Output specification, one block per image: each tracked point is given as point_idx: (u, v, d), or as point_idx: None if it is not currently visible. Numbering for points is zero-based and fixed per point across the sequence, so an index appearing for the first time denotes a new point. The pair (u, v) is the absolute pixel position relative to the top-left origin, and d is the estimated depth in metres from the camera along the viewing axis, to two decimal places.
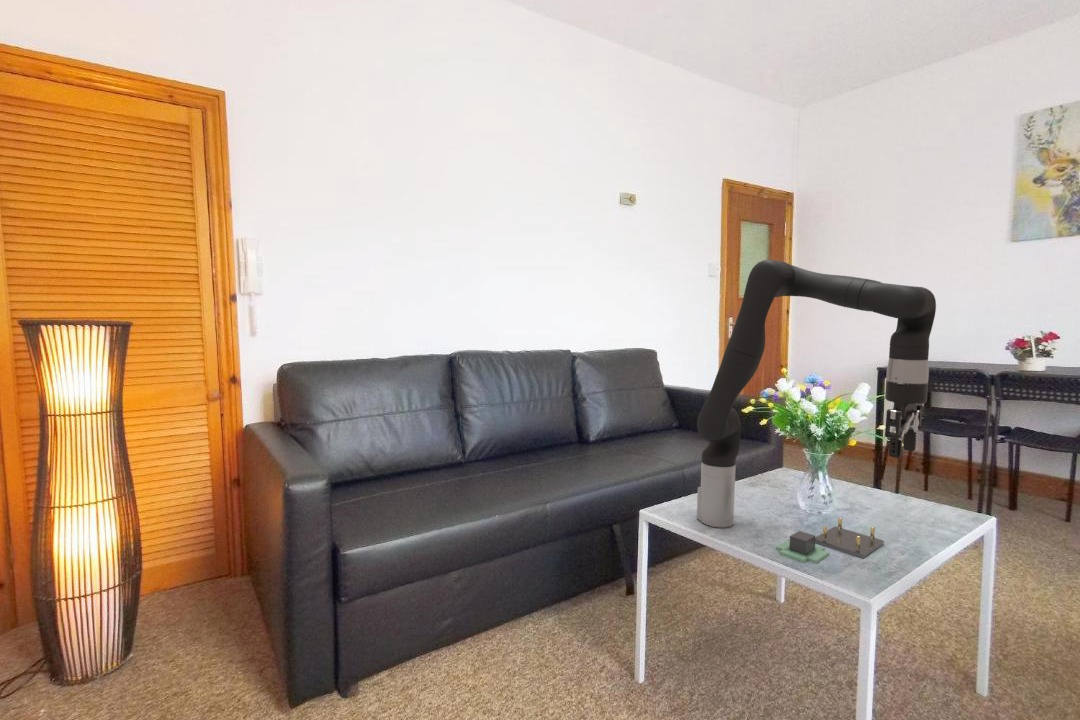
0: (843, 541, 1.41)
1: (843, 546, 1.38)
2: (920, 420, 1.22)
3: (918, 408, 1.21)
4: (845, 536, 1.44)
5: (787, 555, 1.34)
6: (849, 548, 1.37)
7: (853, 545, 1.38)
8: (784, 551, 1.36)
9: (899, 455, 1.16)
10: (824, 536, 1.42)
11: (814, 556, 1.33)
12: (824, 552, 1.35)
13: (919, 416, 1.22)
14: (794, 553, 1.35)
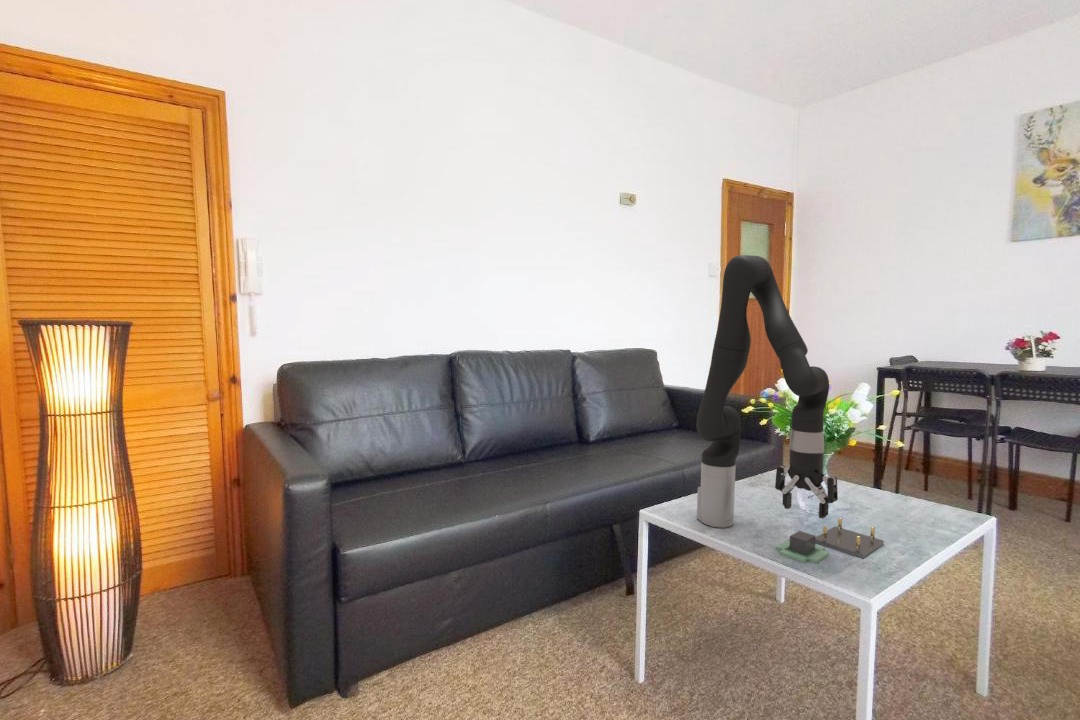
0: (843, 541, 1.41)
1: (843, 546, 1.38)
2: None
3: None
4: (845, 536, 1.44)
5: (787, 555, 1.34)
6: (849, 548, 1.37)
7: (853, 545, 1.38)
8: (784, 551, 1.36)
9: None
10: (824, 536, 1.42)
11: (814, 556, 1.33)
12: (824, 552, 1.35)
13: None
14: (794, 553, 1.35)
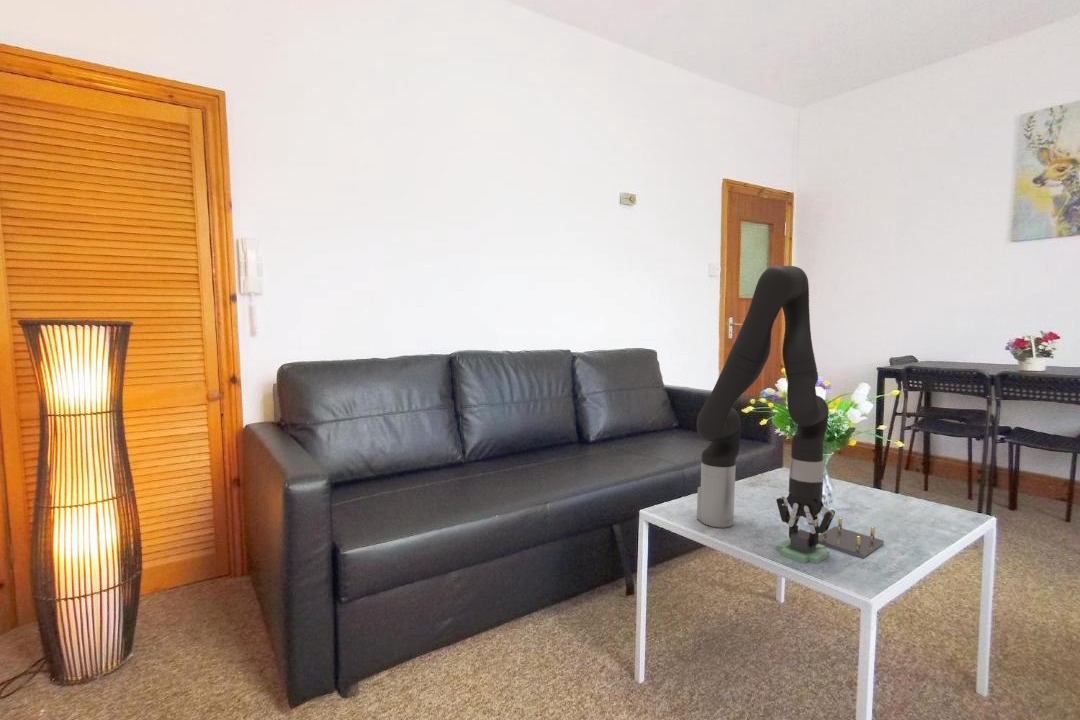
0: (843, 541, 1.41)
1: (843, 546, 1.38)
2: None
3: None
4: (845, 536, 1.44)
5: (788, 553, 1.34)
6: (849, 548, 1.37)
7: (853, 545, 1.38)
8: (785, 549, 1.35)
9: None
10: (824, 536, 1.42)
11: (814, 555, 1.33)
12: (825, 550, 1.35)
13: None
14: (794, 551, 1.34)
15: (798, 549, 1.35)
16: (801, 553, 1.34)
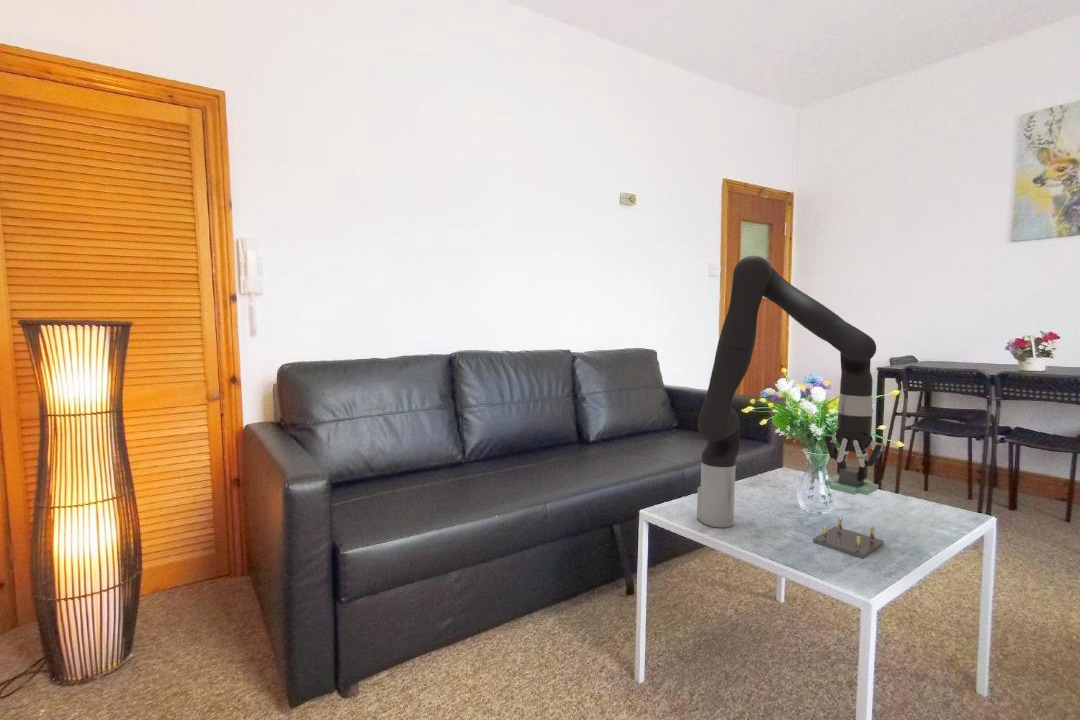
0: (843, 541, 1.41)
1: (843, 546, 1.38)
2: None
3: None
4: (845, 536, 1.44)
5: (837, 487, 1.38)
6: (849, 548, 1.37)
7: (853, 545, 1.38)
8: (834, 484, 1.39)
9: None
10: (824, 536, 1.42)
11: (864, 487, 1.36)
12: (873, 484, 1.38)
13: None
14: (844, 485, 1.38)
15: (847, 483, 1.39)
16: (850, 486, 1.37)
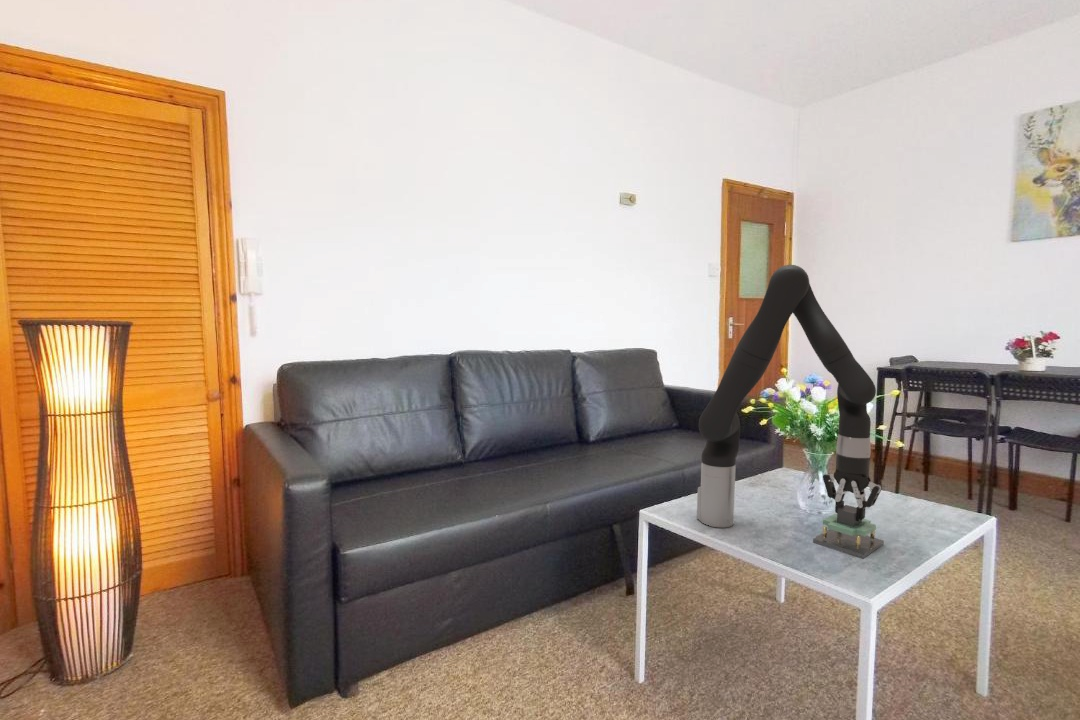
0: (843, 541, 1.41)
1: (843, 546, 1.38)
2: None
3: None
4: (845, 536, 1.44)
5: (835, 527, 1.39)
6: (849, 548, 1.37)
7: (853, 545, 1.38)
8: (832, 523, 1.40)
9: None
10: (824, 536, 1.42)
11: (862, 528, 1.37)
12: (871, 524, 1.40)
13: None
14: (842, 525, 1.39)
15: (845, 523, 1.40)
16: (848, 527, 1.38)
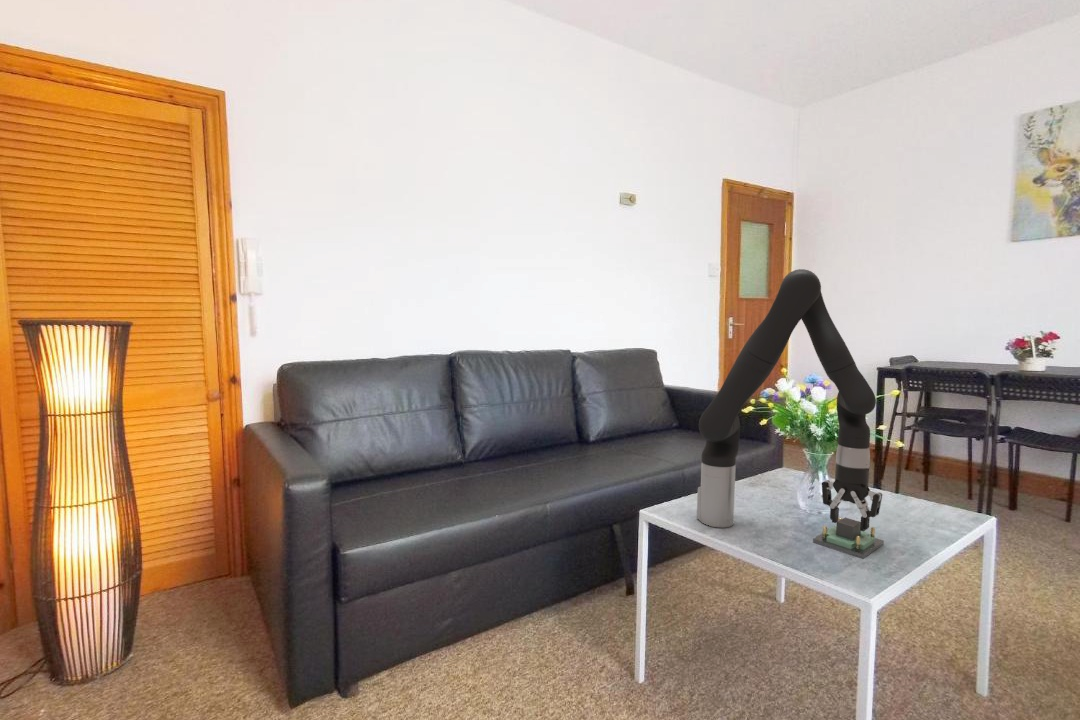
0: None
1: None
2: None
3: None
4: None
5: (834, 540, 1.39)
6: None
7: None
8: (831, 536, 1.41)
9: None
10: (824, 536, 1.42)
11: (861, 541, 1.38)
12: (870, 537, 1.40)
13: None
14: (841, 538, 1.40)
15: (844, 536, 1.40)
16: (847, 540, 1.39)
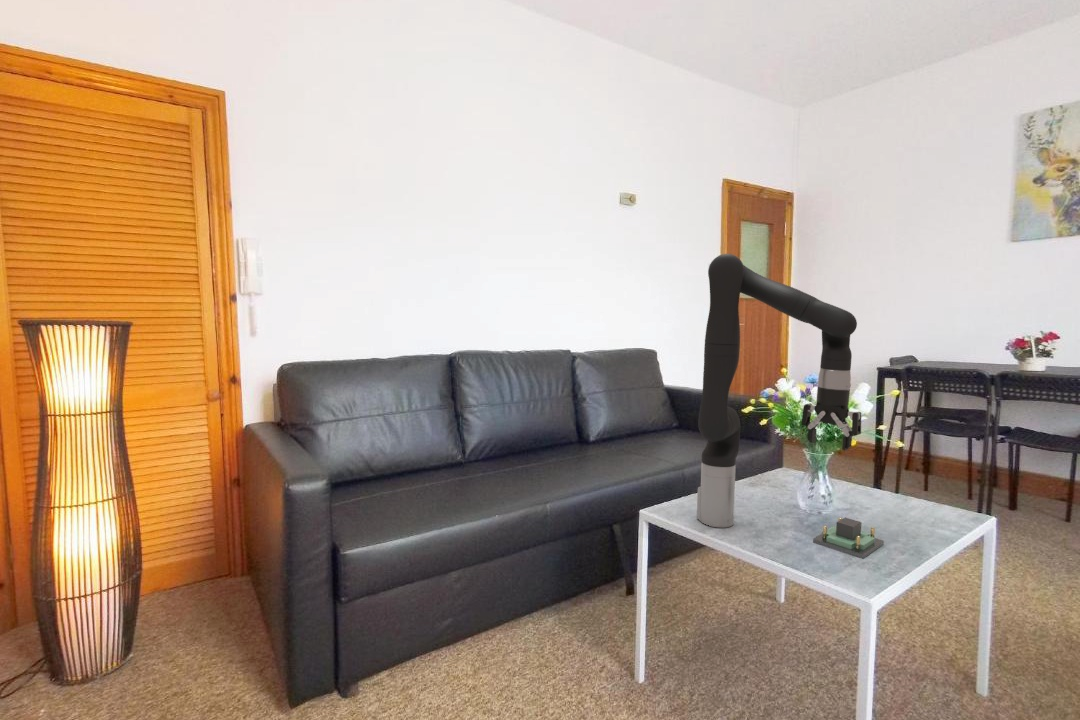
0: None
1: None
2: None
3: None
4: None
5: (834, 540, 1.39)
6: None
7: None
8: (831, 536, 1.41)
9: None
10: (824, 536, 1.42)
11: (861, 541, 1.38)
12: (870, 537, 1.40)
13: None
14: (841, 538, 1.40)
15: (844, 536, 1.40)
16: (847, 540, 1.39)
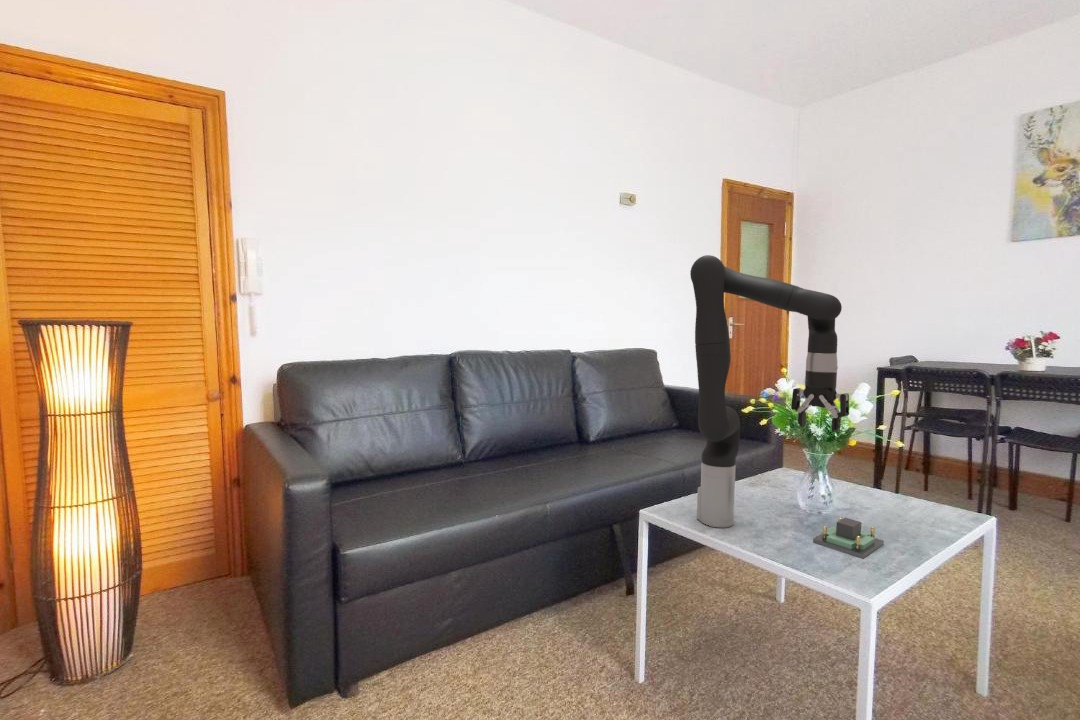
0: None
1: None
2: None
3: None
4: None
5: (834, 540, 1.39)
6: None
7: None
8: (831, 536, 1.41)
9: None
10: (824, 536, 1.42)
11: (861, 541, 1.38)
12: (870, 537, 1.40)
13: None
14: (841, 538, 1.40)
15: (844, 536, 1.40)
16: (847, 540, 1.39)
